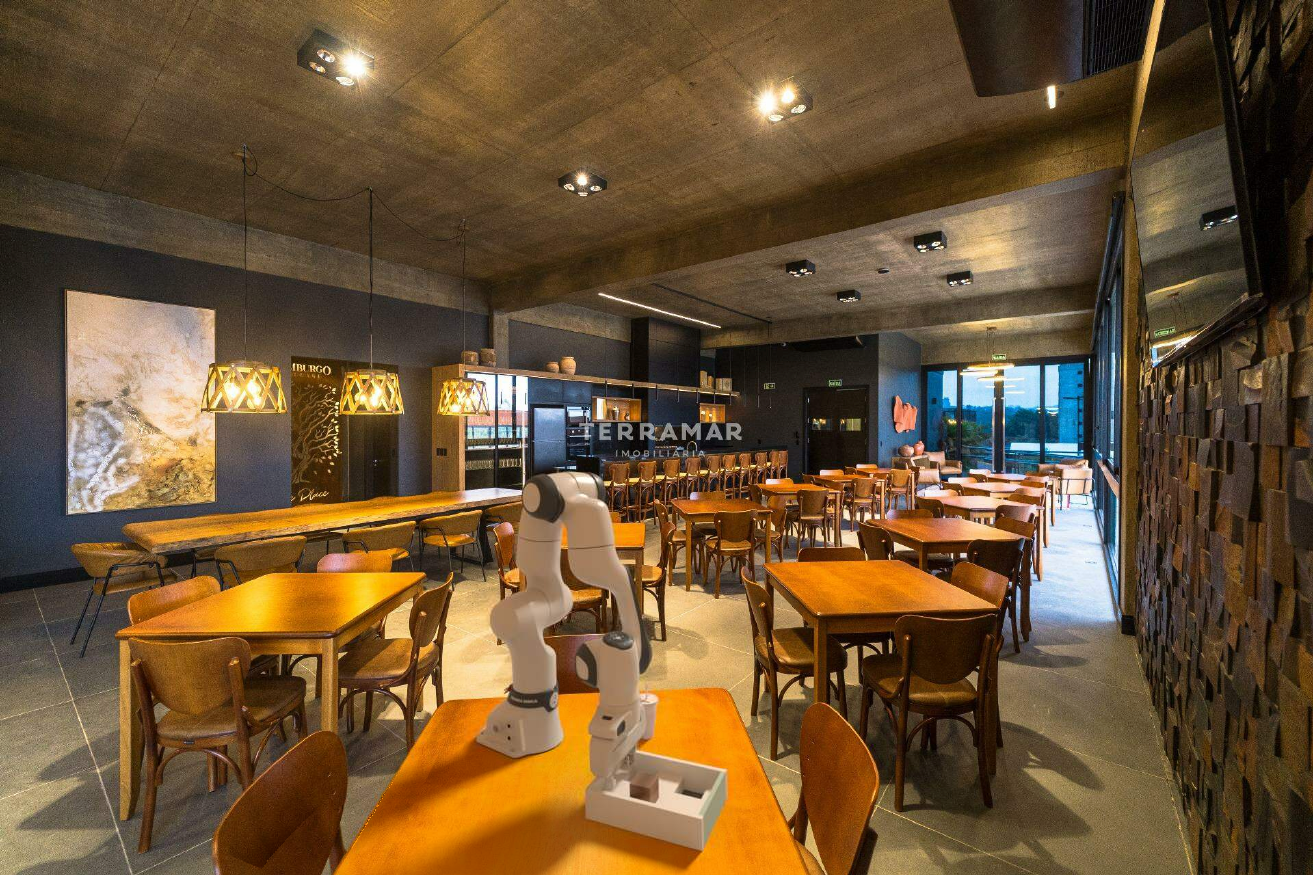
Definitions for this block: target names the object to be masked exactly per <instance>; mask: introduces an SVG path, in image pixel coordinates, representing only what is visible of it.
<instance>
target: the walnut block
mask: <svg viewBox="0 0 1313 875" xmlns="http://www.w3.org/2000/svg"><path fill="white" fill-rule="evenodd" d="M630 797H631V798H635V799H639V800H643V801H647V802H651V803H656V802H657V800H658V799H659V776H656V775H652V774H647V773H643V772H638V773H637V775H636V776H635V777H634V778H633V780H632V781H631V782H630Z"/></svg>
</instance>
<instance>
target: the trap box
mask: <svg viewBox="0 0 1313 875" xmlns="http://www.w3.org/2000/svg"><path fill="white" fill-rule="evenodd" d="M638 772H643V773H647V774H652V775H656V776H659V799H658V800H657V802H656V803H651V802H647V801H643V800H639V799H635V798H631V797H630V782H631V781H632V780H633V778H634V777H635V776H636V775H637V773H638ZM613 777H615V778H616V785H615V787H614V788H613V789H612V790H611V789H607V788H606V787H605V779H604V778H601V777H597V776H595V777H594V778H593V779H592V781H590V782H589V784H588V785H587V786H586V788H584V795H585V796H584V797H585V798H584V802H585V806H584V807H585V819H586V820H589V821H594V822H596V823H600V824H604V825H607V826H611V827H614V828H615V827H616V828H618V829H622V830H624V831H629V832H632V833H636V834H640V835H643V836H645V837H646V836H647V837H650V838H653V839H658V840H661V841H664V842H668V843H672V844H675V845H678V846H682V847H686V848H689V849H692V850H696V851H700V852H703V851H704V849H705V847H706V844H707V842H708V840H709V838H710V835H711V833H712V831H713V829H714V827H715V825H716V823H717V820H718V818H719V816H720V815H721V812H722V811H723V807H724V806H725V803H726V802H727V799H728V770H727V769H726V768H720V767H716V766H710V765H708V764H707V765H705V764H702V763H698V762H693V761H688V760H684V759H679V758H674V757H670V756H665V755H660V754H655V753H653V752H647V751H643V750H638V749H636V753H635V762H634V763H633V764H632V765H629V764H626V763H625V757H624V759H623V760H622V761H621V762H620V763H619V765H618V766H617V767H616V768H615V769H614V773H613Z"/></svg>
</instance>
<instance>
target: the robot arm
mask: <svg viewBox="0 0 1313 875" xmlns="http://www.w3.org/2000/svg"><path fill="white" fill-rule="evenodd" d="M606 489H607V488H606V485H605V482H604V480H603V478H601V476H599V475H597V474H595V473H592V472H589V471H588V472H587V471H582V472H578V471H577V472H576V471H562V472H556V473H549V474H545V473H541V474H537V475H534V476H532V477H530V478H528V479H527V480H526V481H525V483H524V485H523V487H522V490H521V494H520V495H521V499H520V500H521V504H522V511H521V515H520V520H519V526H518V532H517V533H518V534H517V543H516V556H515V565H516V567H517V569H518V570H519V571H520V572H522V573H523V574H524V575H525V578H526V587H525V589H524V590H521V591H518V592H516V593H513V594H510V595H508V596H506V597H505V598H503V599H501V600H500V601H499V602H498V603H496V604H495V605H494V606H493V607H492V608H491V611H490V614H489V624H490V628H491V631H492V633H493V634H494V635H495V636H496V637H497V639H499V640H500V641H502V642H504V643H505V645H506V646H507V649H508V652H509V655H510V657H511V658H510V659H511V670H512V671H511V672H512V683H510V684H509V685H508V686H507V687H506V688H505V689H503V691H504V692H503V695H506V694H507V693H508V695H507V697H506V698H505V699H504V700H502V701H501V702H500V703H499V704H498V705H496V706H495V707H494V708H493V709H492V710H490V712H489V713H488V715H487V717H486V718H487V719H486V723H485V726H484V727H483V728H482V729H480V731H479V732H478V733H477V735H476V738H475V741H476V743H478V744H480V745H483V746H485V747H486V748H487V747H488V748H490V749H492V750H494V751H496V752H499V753H501V754H503V755H505V756H508V757H511V758H512V759H517V758H521V757H524V756H526V755H534V754H538V753H543V752H546V751H549V750H551V749H553V748H555V747H557V746H558V745H559V744H561V742H563V739H564V735H565V734H564V731H563V728H562V723H561V720H560V715H559V714H560V713H559V682H558V680H557V655H556V652H555V650H554V649H553V648H552V647H551V646H550V645H548V644H546V643H545V640H544V635H543V633H544V629H546V628H548V627H551V626H553V625H554V624H556V623H558V622H560V621H561V620H563V618H566V616H568V614H569V613H570V612H571V611H572V608H573V606H574V605H573V604H574V596H573V593H572V591H571V589H570V587H568V585H567V584H565V582H564V580H563V578H562V577H563V576H562V572H561V555H562V554H561V553H562V552H561V550H562V540H563V526H565V529H566V541H567V542H566V543H567V544H566V545H567V546H566V547H567V560H568V564H569V569H570V571H571V572H572V574H573V575H574V577H576V579H578V580H579V581H580V582H582V583H584V584H587V585H591V586H595V587H597V588H601V589H605V590H608V591H609V592H610V593H611V594H612V595H613V596H614V598H615V601H616V605H617V610H618V614H619V617H620V621H621V626H622V629H621V631H616V630H614V631H610V632H607V633H605V634H604V635H602V636H601V637H599V638H595V639H591V640H586V641H585V642H582V643H581V644H580V645H579V646H578V648H577V649H576V652H575V655H574V671H575V675H576V677H577V679H579V681H581V682H582V683H584V684H586V685H588V686H589V687H591V688H598V690H599V696H598V705H597V707H596V710H595V712H594V714H593V717H592V718H591V720H590V721H589V724H587V725H588V726H587V734H588V735H590V736H591V737H590V740H589V748H588V750H589V751H588V752H589V769H590V772H591V774H592V776H595V777H596V776H597V777H601V778H604V779H605V787H606V788H607V789H611V790H612V789H613V788H614V787H615V785H616V778H615V777H613V773H614V769H615V768H616V767H617V766H618V765H619V763H620V762H621V761H622V760H623V759H624V757H625V763H626V764H629V765H632V764H633V763H634V762H635V753H636V750H638V745H639V744H638V742H639V741H640V740H641V737H642V736H643V735H644V733H645V730H646V718H645V709H644V705H643V704H641V697H640V694H641V693H640V690H639V685H638V684H639V681H640V675H643V674H644V673H646V671H647V670H648V668H649V667H650V665H651V662H652V659H653V648H652V645H651V644H652V643H651V641H650V639H649V636H648V634H647V631H646V627H645V623H644V620H643V616H642V612H641V607H640V603H639V598H638V595H637V591H636V586H635V582H634V579H633V576H632V573H631V570H630V569H629V567H628V566H627V565H626V564H624V563H622V562H621V560H620V558H619V555H618V553H617V550H616V542H615V534H614V533H615V532H614V528H613V526H614V525H613V522H612V517H611V514H610V511H609V508H608V505H607V503H605V500H606V497H607V492H606V491H607V490H606Z"/></svg>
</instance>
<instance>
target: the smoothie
mask: <svg viewBox="0 0 1313 875" xmlns="http://www.w3.org/2000/svg"><path fill="white" fill-rule="evenodd" d="M644 683H645V684H644V685H645V687H644V688H645V693H640V697H641V704H643V705H644V709H645V718H646V730H645V733H644V735H643V736H642V737H641V738H640V740H641V739H642V740H651V739H653V737H654V734H655V727H656V726H655V725H656V716H657V705H658V704H659V697H658V696H657V695H655V694H653V693H649V692H648V691H649V690H648V682H647V681H646V682H644Z"/></svg>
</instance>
